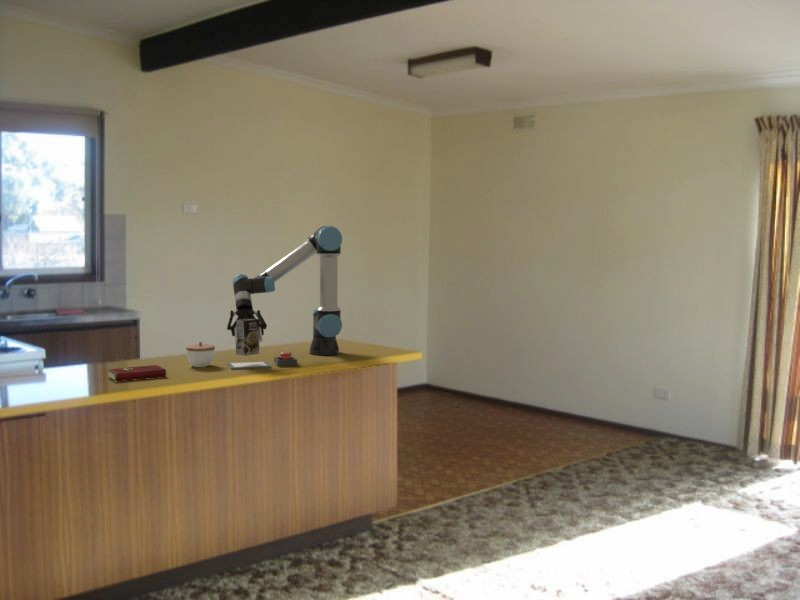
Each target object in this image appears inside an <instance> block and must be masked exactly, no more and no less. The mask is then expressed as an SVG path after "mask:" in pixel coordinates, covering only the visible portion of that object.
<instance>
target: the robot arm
mask: <svg viewBox="0 0 800 600" xmlns="http://www.w3.org/2000/svg"><path fill="white" fill-rule="evenodd" d="M342 243H343V235H342V233H341V231H340V230H339V229H338V227H335V226H333V225H323V226H320V227H319V228H318V229H317V230H315V231H314V232H313V233H312V234H311V235H310V236H308V237H307V238H306V239H305V242H304V243H302V244H301V245H299V246H298V247H296V248H295V249H293V250H292V251H291V252H289V253H288V254H287V255H285V256H284V257H282V258H281V259H279V260H277V262H275V263H274V264H273V265H271V266H269V268H267V269H265V270H264V271H262V272H261V273H260V274H258V275H256V276H254V278H252V277H251V278H249V277H248V276H247V275H246V274H241V273H240V274H237V275H235V276H234V277H233V278H232V287H233V294H234V302H235V308H236V310H235V311H233V310H230V312H229V320H228V323H227V325H226V326H227V327H226V330H227V331H230V332H231V336H232V337H234V343H235V344H236V343H237V340H238V339H237V331H236V320H240V319H260V337H259V343H262V342H263V338H264V337H263V336H264V334H265V332H264V331H265V330H266V329H267V326H268V325H267V323H266V321H265V319H264V318H263V315H261V310H260V309H257V311H256V310H254V308H253V303H252V302H253V300H252V296H251V295H255V294H257V295H258V294H264V293H267V294H268V293H271V292H272V293H273V292H275V291H276V285H275V283H276V282H277V281H279V280H280V279H282V278H283V277H284V276H286V275H287V274H289V273H290V272H292V271H293V270H294V269H296V268H297V267H299V266H300V265H302V264H303V263H304V262H306V261H307V260H309V259H310V258H311V257H312V256H315V255H317V256H318V258H319V307H318V308H314V309H313V312H312V313H313V314H312V315H313V319H312V320H313V322H312V323H313V324H312V331H313V333H312V334H313V335H312V337H313V338H312V340H311V343H310V347H309V354H310V353H311V355H314V354H315V356H335V354H336V355H339V354H340V347H339V343H338V340H337V336H338V335H339V334H340V333H341V330H342V328H343V323H342V322H343V321H342V320H341V319H342V317H341V313H342V312H341V311H342V309H341V308H340V307H339V306H338V277H339V276H338V271H339V270H338V269H339V268H338V265H339V264H338V258H339V257H340V255H341V254H342V253H341V249H342ZM235 316H237V317H236V319H235V321H234V322H233V319H234V317H235ZM256 317H257V318H256Z"/></svg>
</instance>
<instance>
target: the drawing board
mask: <svg viewBox="0 0 800 600" xmlns="http://www.w3.org/2000/svg"><path fill="white" fill-rule="evenodd" d="M226 365H227V366H228V368H229V367H230V368H231V369H235V370H252V369H251V368H259V369H272V365H271V364H270V363H268V362H267V361H243V362H240V361H239V362H227V363H226ZM230 368H229V369H230ZM231 369H230V370H231Z"/></svg>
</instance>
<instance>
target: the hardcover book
mask: <svg viewBox="0 0 800 600" xmlns="http://www.w3.org/2000/svg"><path fill="white" fill-rule="evenodd" d="M107 371H108V378H109V377H111V378H112V379H114V380H115V381H121V382H124V381H123V380H132V381H134V380H133V379H143V380H147V379H146V378H154V379H159V378H158V377H165V378H167V369H166V368H165V367H163V366H161V365H159V364H150V365H138V366H137V365H136V366H127V367H116V368H114V367H113V368H107ZM111 378H110V379H111ZM112 379H111V380H112ZM114 380H113V381H114ZM115 381H114V382H115Z"/></svg>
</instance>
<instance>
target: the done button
mask: <svg viewBox="0 0 800 600" xmlns="http://www.w3.org/2000/svg"><path fill="white" fill-rule="evenodd" d="M279 357H280V360H290V359H291V357H292V352H290V351H281V352H279Z"/></svg>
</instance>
